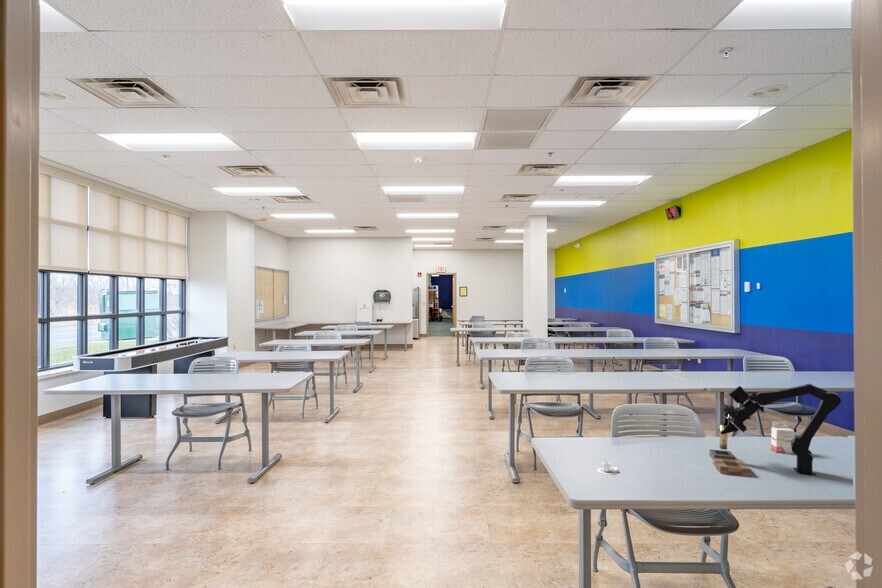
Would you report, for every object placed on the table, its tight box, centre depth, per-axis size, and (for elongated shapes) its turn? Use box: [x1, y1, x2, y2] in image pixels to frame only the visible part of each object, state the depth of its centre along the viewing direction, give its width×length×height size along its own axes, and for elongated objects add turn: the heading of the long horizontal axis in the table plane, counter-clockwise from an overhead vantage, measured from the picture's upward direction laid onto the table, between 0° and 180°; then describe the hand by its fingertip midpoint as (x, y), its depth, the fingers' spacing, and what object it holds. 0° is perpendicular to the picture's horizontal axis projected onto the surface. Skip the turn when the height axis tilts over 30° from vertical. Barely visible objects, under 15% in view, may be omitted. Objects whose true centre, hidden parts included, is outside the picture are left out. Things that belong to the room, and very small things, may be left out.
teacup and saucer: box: [596, 461, 619, 475], centre depth 215 cm, size 9×8×4 cm
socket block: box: [709, 448, 737, 460], centre depth 231 cm, size 9×9×3 cm
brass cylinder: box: [719, 424, 728, 451], centre depth 229 cm, size 3×3×11 cm
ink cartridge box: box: [770, 421, 795, 454], centre depth 243 cm, size 9×5×15 cm, turn 84°
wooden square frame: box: [712, 458, 752, 477], centre depth 217 cm, size 12×12×3 cm
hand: (720, 432), depth 230 cm, fingers closed on brass cylinder, 3 cm apart
